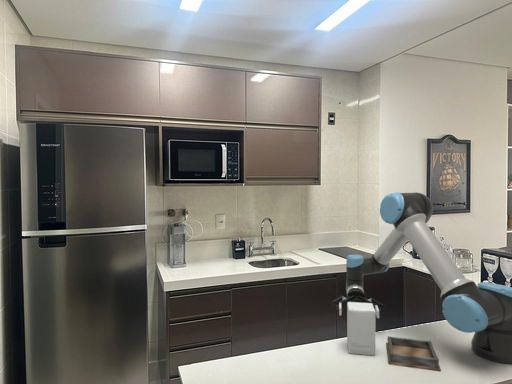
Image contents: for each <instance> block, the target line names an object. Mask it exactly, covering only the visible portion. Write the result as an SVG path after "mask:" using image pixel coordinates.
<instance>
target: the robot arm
mask: <svg viewBox="0 0 512 384" xmlns="http://www.w3.org/2000/svg"><path fill="white" fill-rule="evenodd" d="M379 206H380V207H379V215H380V218H381V220H383V222H384V223H386V224H389V225H393V227H394V228H393V229H392V230H391V231H390V233H389V234H388V236H387V237H386V238H385V240H383V241H382V243H381V244H380V246H379V247H378V248H377V249H376V250H375V252H374V253H373V254H372V255H371V256H369V257H364V256H363V255H362V254H349V255H347V256H346V261H345V262H346V263H345V266H346V268H345V269H346V271H345V272H346V279H345V282H346V283H345V291H346V297H345V296H343V295H339V297H336V298H335V299H333V300H332V301H331V308H332V309H336V312H337V311H338V313H339V316H342V309H343V308H347V302H358V303H372V304H373V307H374V309H375V312H376V319H380V314H382V312H383V313H385V310H386V308H385V307H386V305H385V304H384V303H381V302H380V301H378V300H377V299H375V298H374V297H370V298H369V299H368V298H367V297H366V295H365V291H364V276H367V275H374V274H383V273H386V272H388V270H389V269H390V262H391V260H392V259H394V257H395V256H396V254H398V253H399V251H400V250H401V249H402V248H403V247H404V246H405V244H406V243H407V242H408V243H409V244H410V245H411V247H412V248H413V249H414V251H415V253H416V254H417V256H418V258H420V260H421V261H422V263H423V265H424V266H425V267H426V269H427V271H428V272H429V274H430V275H431V277H432V278H433V280H434V282H435V283H436V284H437V286H438V288H439V289H440V291H441V293H440V299H441V300H442V304H441V305H442V306H441V307H442V310H441V311H442V314H443V316H444V318H445V320H446V321H447V323H448V324H449V325H450V326H451V327H452V328H454V329H456V330H457V331H460V332H463V333H465V334H466V333H468V334H470V333H473V336H472V339H471V347H470V348H471V351H472V352H473V353H475V354H476V355H477V356H480V357H481V358H484V359H487V360H489V361H492V362H496V363H501V364H508V365H509V364H510V365H512V287H511V286H508V285H503V284H498V283H493V282H478V283H477V284H476V283H475V281H474V280H472V279H468V278H466V276H465V275H464V274H463V272H462V271H461V270H460V268H459V267H458V266H457V265H456V263H455V261H454V260H453V259H452V257H451V256H450V254H449V253H448V252H447V250H446V249H445V248H444V246H443V245H442V244H441V242H440V241H439V239H438V238H437V236H436V235H435V233H434V232H433V231H432V230H431V228H430V227H429V225H428V224H427V223H428V222H429V221H430V219H431V217H432V215H433V212H434V207H433V206H434V205H433V202H432V201H431V199H430V198H429V197H428V196H427V195H426V194H424V193H421V192H394V193H387V195H385V196H384V197H383V198H382V200H381V202H380V205H379Z"/></svg>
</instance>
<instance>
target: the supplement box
mask: <svg viewBox="0 0 512 384" xmlns="http://www.w3.org/2000/svg"><path fill="white" fill-rule="evenodd" d="M346 310H347V311H346V312H347V313H346V317H347V318H346V320H347V321H346V322H347V323H346V329H347V330H346V332H347V334H346V338H347V339H346V341H347V343H346V345H347V351H348V354H354V355H355V354H356V355H366V356H373V357H374V356H376V327H377V325H376V322H377V321H376V319H377V316H376V312H375V309H374V307H373V304H372V303H358V302H347V306H346Z"/></svg>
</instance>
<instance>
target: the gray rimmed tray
mask: <svg viewBox="0 0 512 384" xmlns="http://www.w3.org/2000/svg"><path fill="white" fill-rule="evenodd" d="M385 347H386V355H387V364H388V365H392V366H397V367H398V366H400V367H407V368H415V369H420V370H429V371H435V372H441V370H442V369H441V366H440V364H439V363H440V361H439V358H438V355H437V352H436V350H435V348H434V346H433V343H432V341H431V340H423V339H416V338H415V339H414V338H406V337H397V336H396V337H395V336H390V335H389V336H387V342H385Z"/></svg>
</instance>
